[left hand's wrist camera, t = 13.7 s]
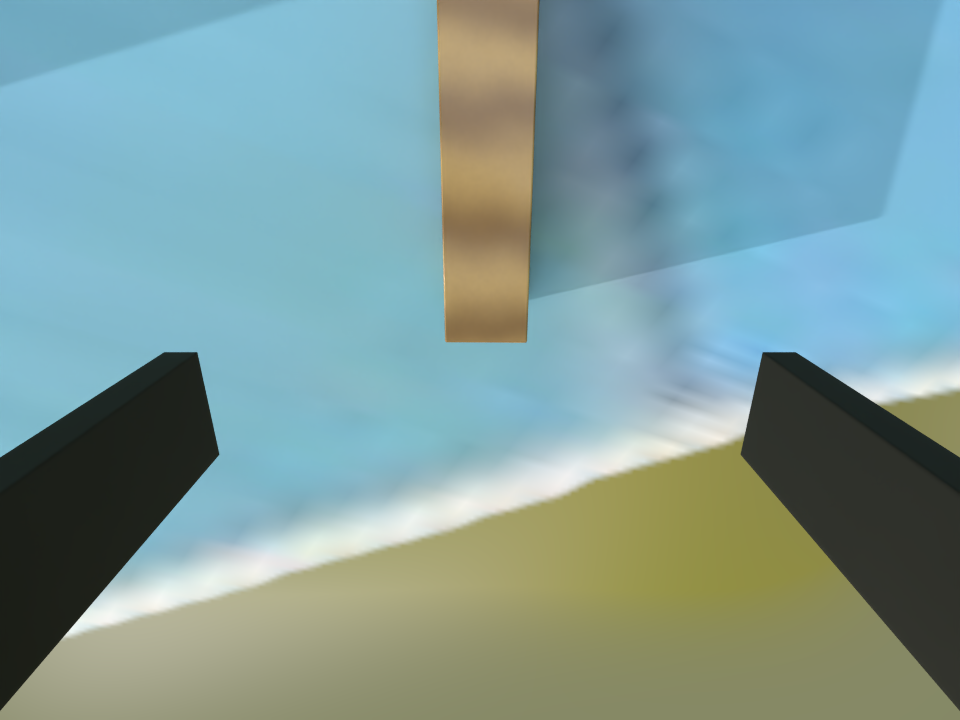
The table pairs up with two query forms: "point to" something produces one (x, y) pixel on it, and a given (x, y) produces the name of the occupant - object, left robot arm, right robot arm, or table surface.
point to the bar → (487, 164)
